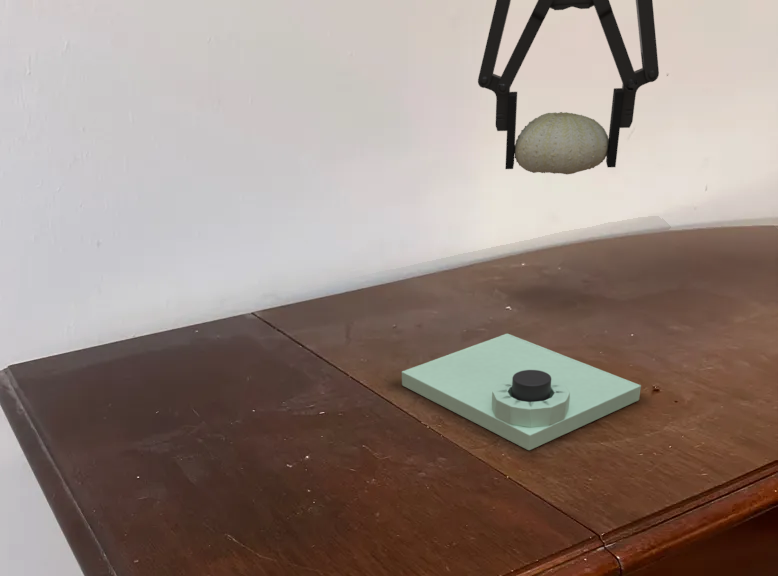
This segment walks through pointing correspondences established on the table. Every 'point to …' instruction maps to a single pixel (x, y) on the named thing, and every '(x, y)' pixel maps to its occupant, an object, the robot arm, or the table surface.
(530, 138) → the sea urchin shell
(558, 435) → the scale
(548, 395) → the power button
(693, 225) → the table surface
